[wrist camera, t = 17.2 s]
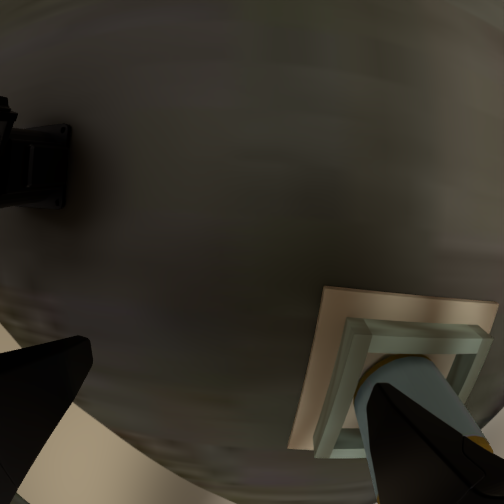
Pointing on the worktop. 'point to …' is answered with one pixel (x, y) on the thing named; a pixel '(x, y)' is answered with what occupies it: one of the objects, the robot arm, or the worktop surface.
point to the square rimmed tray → (381, 356)
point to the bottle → (415, 397)
